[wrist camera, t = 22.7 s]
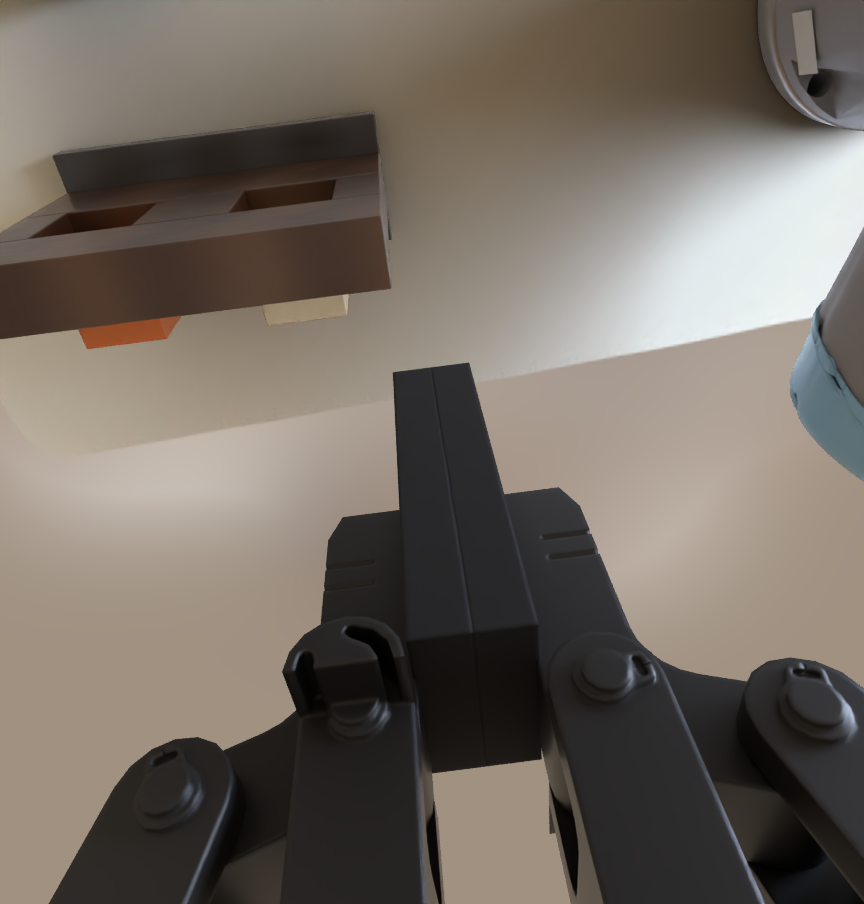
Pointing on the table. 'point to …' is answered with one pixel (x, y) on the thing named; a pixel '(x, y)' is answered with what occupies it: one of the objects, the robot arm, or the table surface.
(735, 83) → the table surface
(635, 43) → the table surface
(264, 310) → the beige key
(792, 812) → the robot arm
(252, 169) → the brown wooden upright panel
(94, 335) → the orange key
